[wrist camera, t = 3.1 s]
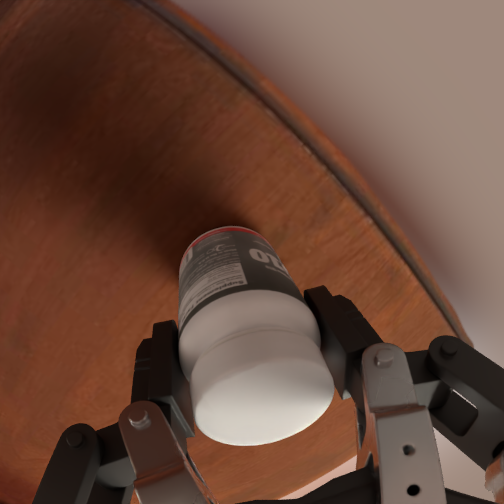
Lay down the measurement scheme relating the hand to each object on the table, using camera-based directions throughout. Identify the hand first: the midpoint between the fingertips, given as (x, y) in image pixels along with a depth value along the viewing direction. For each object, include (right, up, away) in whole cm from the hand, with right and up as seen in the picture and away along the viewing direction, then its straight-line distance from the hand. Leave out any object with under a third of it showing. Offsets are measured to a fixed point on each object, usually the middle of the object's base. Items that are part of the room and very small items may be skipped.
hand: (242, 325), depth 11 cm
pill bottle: (-1, +2, +4) cm, 5 cm away
